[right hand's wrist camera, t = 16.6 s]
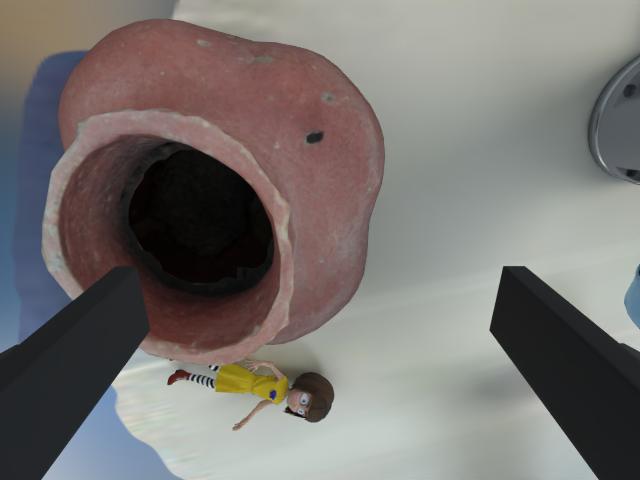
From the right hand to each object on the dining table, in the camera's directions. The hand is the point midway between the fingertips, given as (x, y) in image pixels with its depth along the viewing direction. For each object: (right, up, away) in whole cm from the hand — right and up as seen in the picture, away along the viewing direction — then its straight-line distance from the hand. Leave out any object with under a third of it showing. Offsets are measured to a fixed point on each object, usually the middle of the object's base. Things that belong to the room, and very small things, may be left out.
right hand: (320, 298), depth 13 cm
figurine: (-10, -19, +43) cm, 48 cm away
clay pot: (-9, +10, +31) cm, 34 cm away
